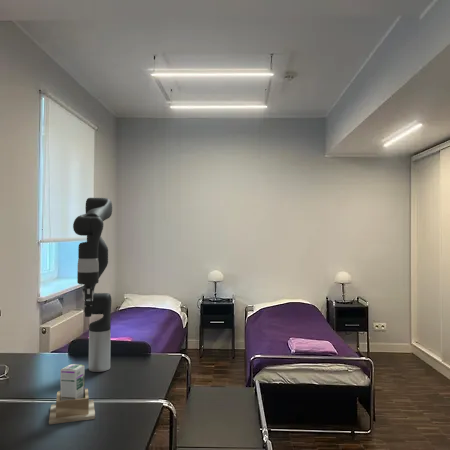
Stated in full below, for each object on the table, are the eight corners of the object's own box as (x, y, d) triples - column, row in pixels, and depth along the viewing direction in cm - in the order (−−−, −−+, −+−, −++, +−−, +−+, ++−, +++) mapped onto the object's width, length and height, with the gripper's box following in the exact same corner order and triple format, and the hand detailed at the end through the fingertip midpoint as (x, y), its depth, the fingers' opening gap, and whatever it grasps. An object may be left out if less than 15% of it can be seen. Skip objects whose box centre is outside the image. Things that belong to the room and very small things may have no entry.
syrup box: (76, 414, 145) (76, 369, 146) (59, 412, 147) (60, 368, 147) (85, 407, 151) (85, 364, 151) (69, 405, 152) (69, 363, 152)
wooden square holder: (51, 407, 153) (51, 390, 153) (93, 402, 158) (93, 385, 158) (48, 424, 140) (49, 405, 140) (95, 418, 144) (95, 400, 144)
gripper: (99, 272, 159) (99, 317, 158) (97, 268, 172) (97, 310, 172) (77, 272, 156) (77, 318, 156) (77, 269, 170) (77, 311, 170)
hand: (87, 314), depth 164 cm, fingers open, 8 cm apart
